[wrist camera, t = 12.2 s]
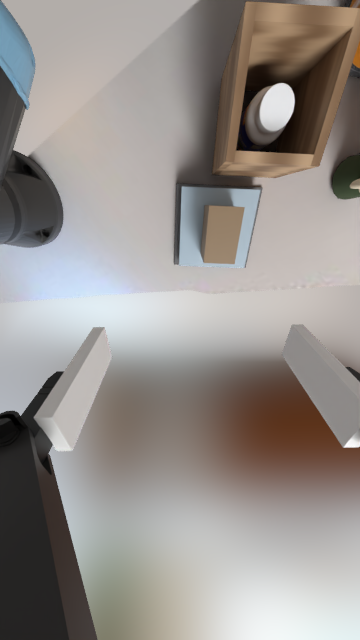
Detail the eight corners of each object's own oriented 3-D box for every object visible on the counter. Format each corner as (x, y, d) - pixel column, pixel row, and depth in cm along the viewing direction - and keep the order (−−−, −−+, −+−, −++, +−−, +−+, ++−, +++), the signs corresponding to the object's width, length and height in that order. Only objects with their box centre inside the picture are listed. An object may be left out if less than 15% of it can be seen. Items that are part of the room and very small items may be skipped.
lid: (179, 262, 41) (178, 277, 33) (181, 187, 34) (181, 182, 26) (241, 264, 41) (255, 280, 33) (255, 190, 34) (278, 186, 26)
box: (211, 174, 33) (225, 161, 23) (221, 79, 28) (245, 1, 17) (275, 177, 34) (319, 166, 23) (298, 83, 28) (370, 8, 17)
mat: (174, 263, 41) (174, 264, 41) (176, 183, 34) (176, 183, 34) (244, 267, 42) (245, 267, 41) (261, 187, 34) (262, 187, 34)
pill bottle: (232, 114, 30) (252, 80, 21) (269, 103, 29) (304, 64, 21) (234, 159, 32) (252, 144, 24) (268, 150, 32) (298, 131, 23)
